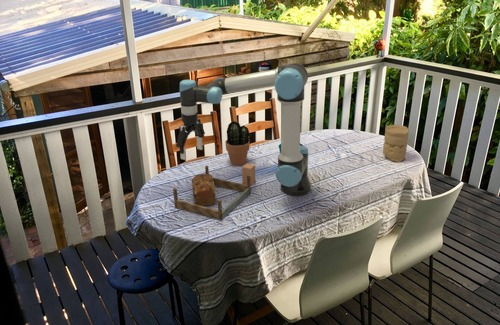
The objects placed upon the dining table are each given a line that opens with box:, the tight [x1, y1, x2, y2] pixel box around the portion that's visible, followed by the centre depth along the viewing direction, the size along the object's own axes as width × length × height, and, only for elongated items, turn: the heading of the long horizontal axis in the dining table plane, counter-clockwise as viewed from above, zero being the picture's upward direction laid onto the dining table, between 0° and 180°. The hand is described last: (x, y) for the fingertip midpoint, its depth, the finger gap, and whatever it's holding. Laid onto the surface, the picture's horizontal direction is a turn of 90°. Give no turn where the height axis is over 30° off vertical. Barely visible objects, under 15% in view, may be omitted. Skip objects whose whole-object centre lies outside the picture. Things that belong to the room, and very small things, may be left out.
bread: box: [191, 173, 216, 207], centre depth 221 cm, size 19×11×10 cm, turn 9°
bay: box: [172, 165, 252, 221], centre depth 217 cm, size 26×28×10 cm
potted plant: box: [225, 120, 250, 167], centre depth 253 cm, size 14×14×25 cm
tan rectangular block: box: [241, 162, 256, 187], centre depth 233 cm, size 5×5×10 cm
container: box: [382, 124, 410, 163], centre depth 255 cm, size 13×13×18 cm
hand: (191, 154), depth 221 cm, fingers open, 13 cm apart
